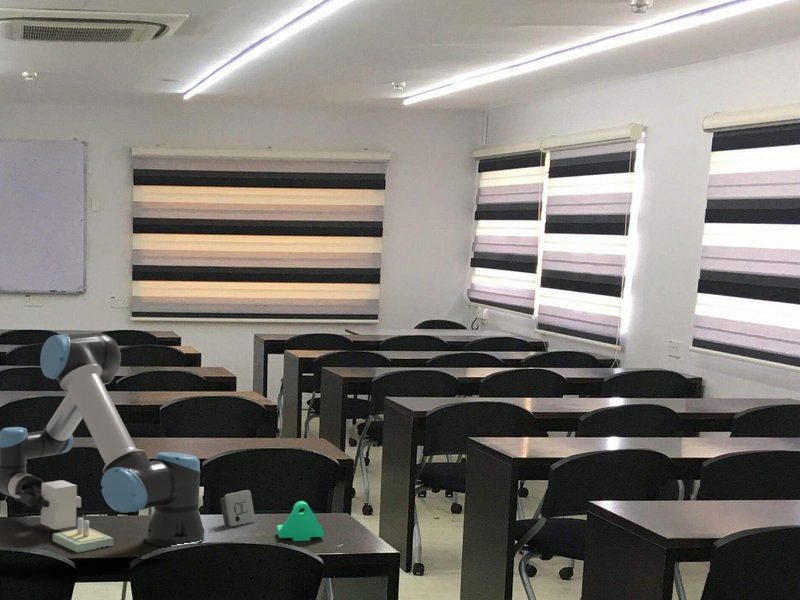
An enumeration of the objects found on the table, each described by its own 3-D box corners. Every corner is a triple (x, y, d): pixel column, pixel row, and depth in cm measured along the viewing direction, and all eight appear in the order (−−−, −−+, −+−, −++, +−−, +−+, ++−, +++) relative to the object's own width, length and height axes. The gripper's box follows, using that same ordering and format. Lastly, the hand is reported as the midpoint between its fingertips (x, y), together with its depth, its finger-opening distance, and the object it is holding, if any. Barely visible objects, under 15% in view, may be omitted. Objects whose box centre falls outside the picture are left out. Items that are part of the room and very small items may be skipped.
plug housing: (40, 523, 271) (41, 483, 270) (61, 519, 275) (62, 480, 274) (55, 529, 265) (55, 488, 265) (75, 525, 269) (76, 485, 269)
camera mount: (318, 532, 281) (320, 496, 280) (323, 540, 274) (324, 503, 273) (276, 534, 278) (277, 497, 277) (279, 542, 271) (281, 504, 270)
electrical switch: (231, 528, 281) (230, 495, 281) (218, 526, 284) (217, 493, 285) (255, 522, 288) (254, 490, 289) (243, 520, 292) (242, 488, 292)
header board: (52, 541, 262) (53, 517, 262) (87, 534, 269) (88, 511, 269) (77, 552, 253) (78, 528, 253) (112, 545, 260) (113, 522, 260)
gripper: (58, 496, 289) (100, 512, 273) (-6, 506, 275) (33, 524, 259) (59, 471, 289) (100, 485, 273) (-6, 479, 275) (34, 495, 259)
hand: (68, 504), depth 266 cm, fingers closed on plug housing, 6 cm apart
